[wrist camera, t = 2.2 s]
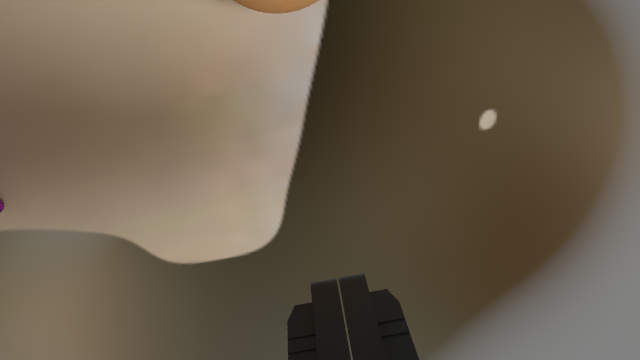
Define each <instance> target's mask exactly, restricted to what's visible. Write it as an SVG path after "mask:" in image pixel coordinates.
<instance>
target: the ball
mask: <svg viewBox="0 0 640 360" xmlns="http://www.w3.org/2000/svg"><path fill="white" fill-rule="evenodd" d="M234 1H235V2H237V3H239V4H241V5H243V6H245V7H247V8H250V9H253V10H256V11H260V12H265V13H288V12H293V11H297V10H300V9H303V8H305V7H308V6H310V5H311V4H313V3H315V2H317V1H318V0H234Z"/></svg>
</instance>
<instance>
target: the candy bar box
mask: <svg viewBox="0 0 640 360" xmlns="http://www.w3.org/2000/svg"><path fill="white" fill-rule="evenodd" d="M3 209H4V205H3V204H2V202H1V200H0V212H1V211H2V210H3Z"/></svg>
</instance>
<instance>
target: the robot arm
mask: <svg viewBox="0 0 640 360" xmlns="http://www.w3.org/2000/svg"><path fill="white" fill-rule="evenodd" d="M339 283H340V288H341V294H342V300H343V306H344V311H345V317H346V323H347V328H348V334H349V340H350V345H351V351H352V356H353V360H419V358H418V355H417V352H416V350H415V347H414V344H413V341H412V338H411V335H410V332H409V329H408V326H407V323H406V321H405V317H404V314H403V311H402V309H401V306H400V303H399V301H398V300H397V299H396V298H395V297H394V296H393V295H392V294H391V293H390V292H389V291H388V290H387V289H384V290H379V291H373V292H369V290H368V286H367V282H366V279H365V275H364V273H363V274H357V275H352V276H346V277H340V278H339ZM311 294H312V303H306V304H301V305H296V306H294V308H293V311H292V313H291V315H290V317H289V319H288V322H287V323H288V360H351V358H350V353H349V347H348V341H347V335H346V330H345V325H344V318H343V314H342V307H341V302H340V296H339V291H338V285H337V280H336V278H335V279H330V280H324V281H319V282H313V283H311Z"/></svg>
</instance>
